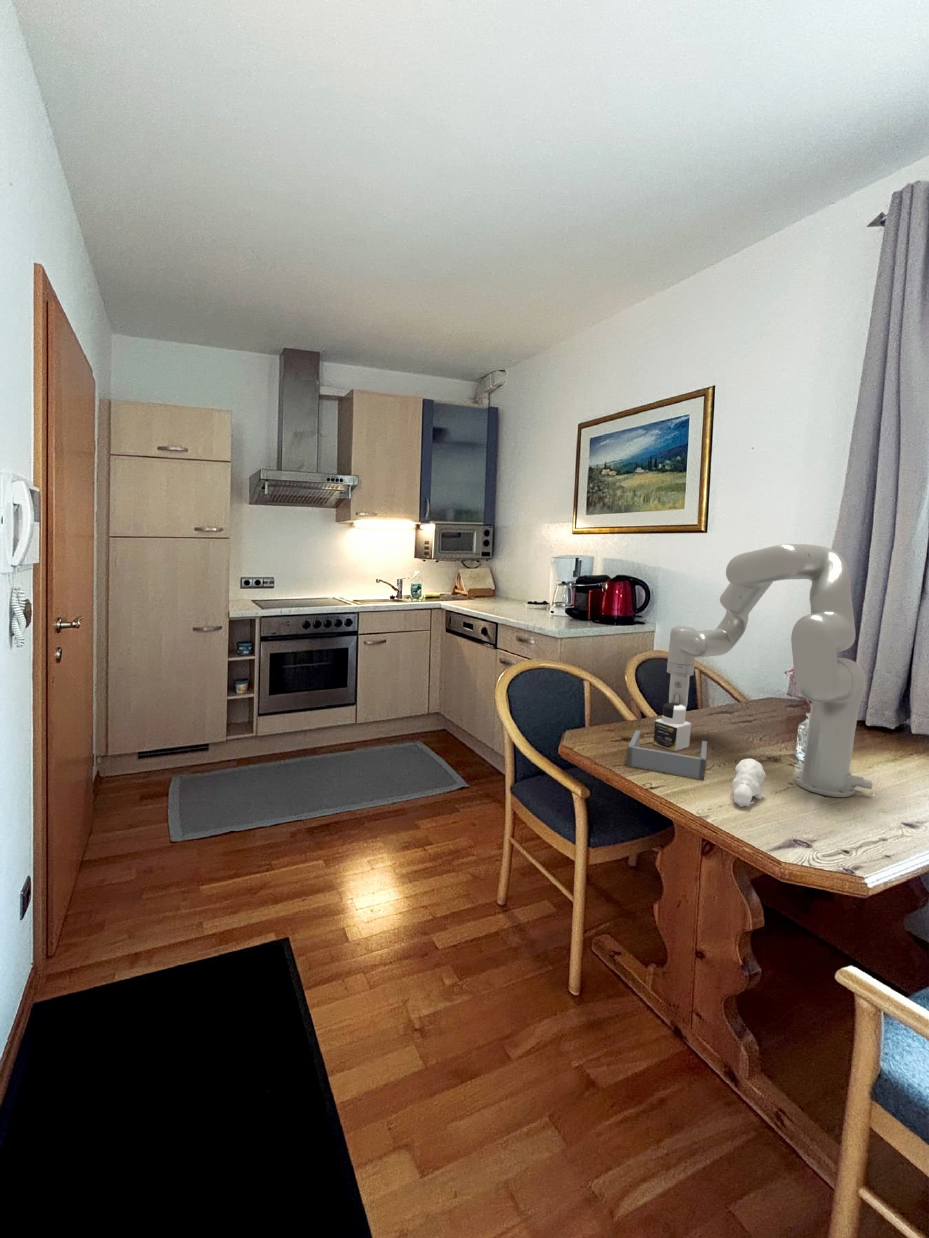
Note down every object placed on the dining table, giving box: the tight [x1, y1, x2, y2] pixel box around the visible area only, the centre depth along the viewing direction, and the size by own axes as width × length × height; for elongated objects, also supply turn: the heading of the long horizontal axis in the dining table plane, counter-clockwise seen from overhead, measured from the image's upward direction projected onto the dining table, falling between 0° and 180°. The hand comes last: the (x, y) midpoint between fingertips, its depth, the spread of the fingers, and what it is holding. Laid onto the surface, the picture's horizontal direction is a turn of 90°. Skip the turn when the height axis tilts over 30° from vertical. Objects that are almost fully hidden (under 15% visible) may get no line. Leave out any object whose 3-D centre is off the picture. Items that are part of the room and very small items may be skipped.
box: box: [626, 729, 708, 781], centre depth 157 cm, size 18×15×5 cm
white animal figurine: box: [730, 758, 766, 808], centre depth 135 cm, size 6×8×12 cm
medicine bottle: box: [652, 702, 692, 752], centre depth 169 cm, size 7×7×12 cm
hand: (674, 727), depth 182 cm, fingers closed
